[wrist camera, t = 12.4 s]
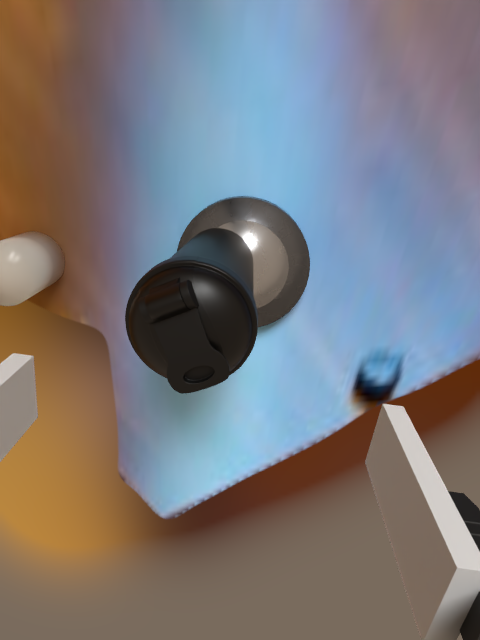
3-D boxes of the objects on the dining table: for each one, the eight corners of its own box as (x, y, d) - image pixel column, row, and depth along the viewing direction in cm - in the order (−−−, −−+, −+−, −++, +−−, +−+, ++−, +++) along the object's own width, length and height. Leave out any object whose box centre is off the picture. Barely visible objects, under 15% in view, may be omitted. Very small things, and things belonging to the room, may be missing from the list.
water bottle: (196, 315, 53) (150, 423, 32) (161, 239, 50) (83, 303, 29) (272, 287, 51) (277, 383, 30) (241, 206, 48) (221, 249, 27)
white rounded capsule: (8, 227, 53) (-34, 240, 45) (63, 235, 53) (30, 248, 45) (12, 281, 55) (-27, 301, 48) (65, 288, 55) (34, 309, 48)
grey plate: (183, 187, 50) (180, 189, 48) (319, 205, 50) (321, 207, 48) (175, 314, 56) (171, 320, 54) (296, 330, 56) (297, 337, 54)
